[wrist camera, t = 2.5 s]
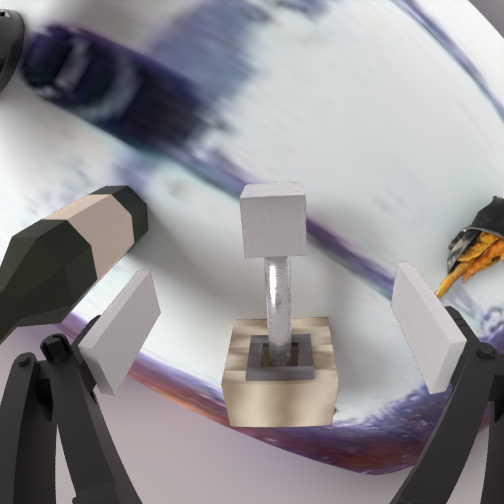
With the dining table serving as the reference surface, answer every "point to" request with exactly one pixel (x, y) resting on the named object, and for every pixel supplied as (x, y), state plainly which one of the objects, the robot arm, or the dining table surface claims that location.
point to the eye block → (280, 376)
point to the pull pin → (275, 252)
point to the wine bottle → (67, 256)
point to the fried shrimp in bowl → (476, 245)
